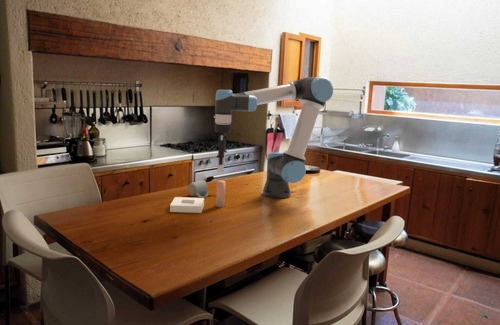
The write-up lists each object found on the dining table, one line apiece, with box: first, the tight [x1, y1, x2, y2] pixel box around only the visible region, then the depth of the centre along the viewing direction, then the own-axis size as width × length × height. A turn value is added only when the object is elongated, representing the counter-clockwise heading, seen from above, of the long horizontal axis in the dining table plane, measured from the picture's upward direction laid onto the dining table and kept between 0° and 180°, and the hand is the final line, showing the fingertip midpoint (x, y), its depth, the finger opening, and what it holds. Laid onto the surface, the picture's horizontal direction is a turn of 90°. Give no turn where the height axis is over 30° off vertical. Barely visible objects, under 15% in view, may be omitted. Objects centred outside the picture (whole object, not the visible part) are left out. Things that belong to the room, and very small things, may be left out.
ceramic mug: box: [187, 179, 209, 199], centre depth 211 cm, size 11×8×8 cm
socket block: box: [169, 196, 205, 214], centre depth 191 cm, size 14×14×3 cm
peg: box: [215, 180, 226, 208], centre depth 195 cm, size 4×4×12 cm
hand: (221, 168), depth 193 cm, fingers open, 13 cm apart
